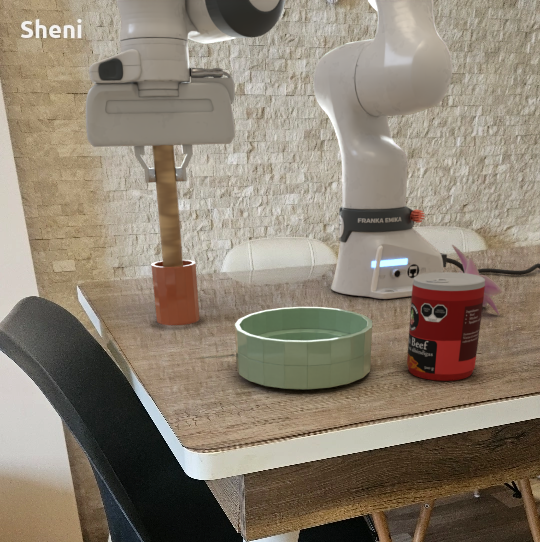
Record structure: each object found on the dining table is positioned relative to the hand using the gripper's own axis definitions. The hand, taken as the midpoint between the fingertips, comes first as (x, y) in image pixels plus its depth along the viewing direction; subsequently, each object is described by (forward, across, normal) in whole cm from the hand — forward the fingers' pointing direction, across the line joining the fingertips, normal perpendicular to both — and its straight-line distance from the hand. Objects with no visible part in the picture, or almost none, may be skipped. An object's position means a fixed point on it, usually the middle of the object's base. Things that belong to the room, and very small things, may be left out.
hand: (165, 181), depth 95 cm
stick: (+14, 0, 0) cm, 14 cm away
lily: (+20, -46, +6) cm, 51 cm away
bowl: (+20, -14, +28) cm, 37 cm away
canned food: (+20, -30, +32) cm, 48 cm away
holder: (+20, 0, 0) cm, 20 cm away
